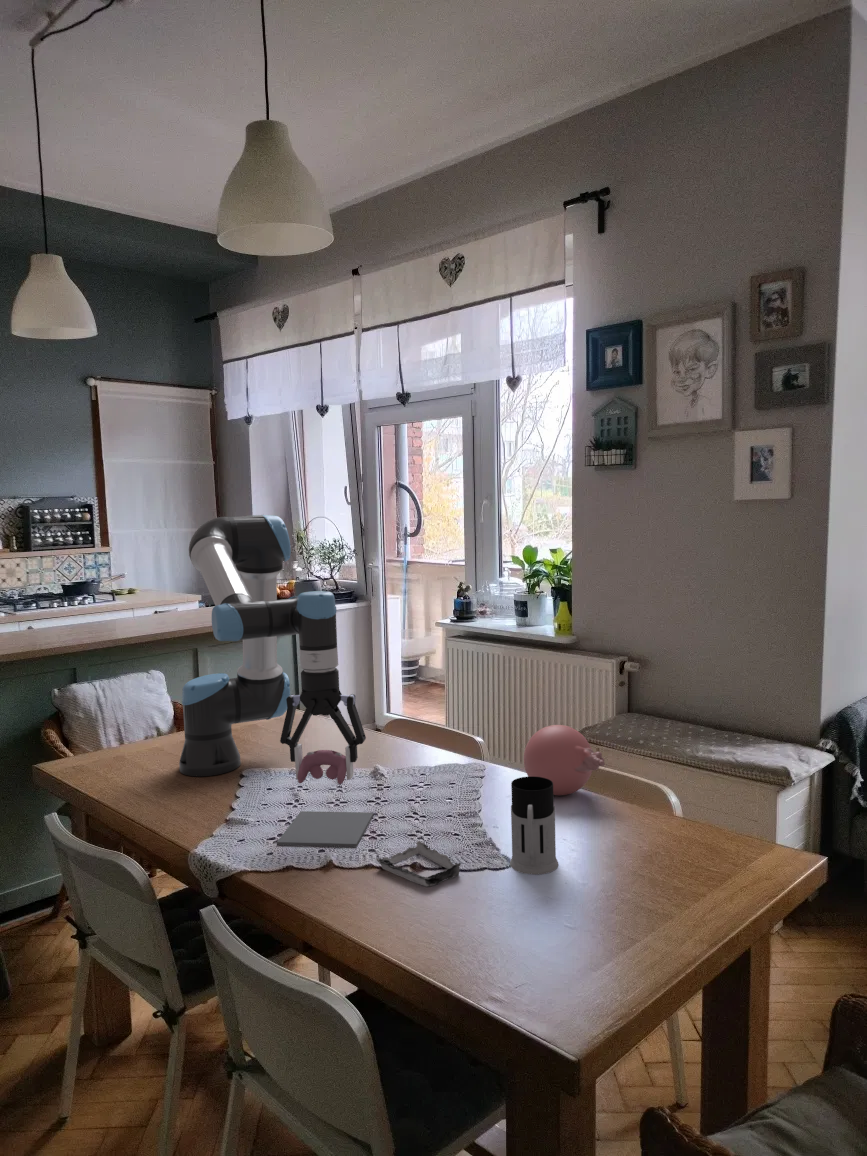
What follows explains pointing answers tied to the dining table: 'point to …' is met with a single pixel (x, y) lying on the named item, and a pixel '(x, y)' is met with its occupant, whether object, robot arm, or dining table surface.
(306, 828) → the charcoal mat
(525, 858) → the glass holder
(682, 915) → the dining table surface
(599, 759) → the balloon
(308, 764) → the video game controller
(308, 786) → the dining table surface
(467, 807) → the dining table surface
